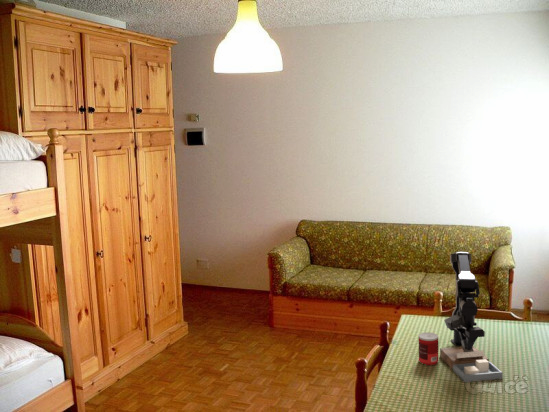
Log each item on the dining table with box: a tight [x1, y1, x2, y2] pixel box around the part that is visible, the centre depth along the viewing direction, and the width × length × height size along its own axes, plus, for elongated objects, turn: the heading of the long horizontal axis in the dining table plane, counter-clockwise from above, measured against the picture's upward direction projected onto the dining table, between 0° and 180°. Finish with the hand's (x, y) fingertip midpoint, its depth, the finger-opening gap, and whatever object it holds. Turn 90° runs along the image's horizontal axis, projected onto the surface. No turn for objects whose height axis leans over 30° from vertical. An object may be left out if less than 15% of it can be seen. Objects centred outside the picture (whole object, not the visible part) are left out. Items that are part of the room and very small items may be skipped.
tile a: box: [464, 366, 479, 374], centre depth 221 cm, size 4×4×2 cm
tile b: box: [476, 359, 490, 373], centre depth 224 cm, size 4×4×2 cm
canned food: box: [418, 331, 439, 366], centre depth 235 cm, size 8×8×11 cm
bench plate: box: [439, 345, 490, 370], centre depth 234 cm, size 14×14×4 cm
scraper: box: [454, 339, 486, 360], centre depth 230 cm, size 2×11×7 cm
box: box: [452, 361, 504, 383], centre depth 223 cm, size 10×15×2 cm, turn 96°
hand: (467, 347), depth 231 cm, fingers closed on scraper, 4 cm apart
